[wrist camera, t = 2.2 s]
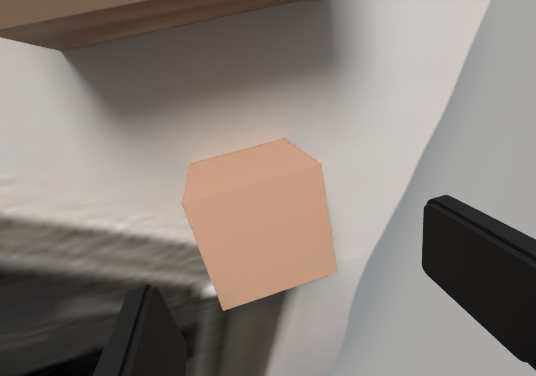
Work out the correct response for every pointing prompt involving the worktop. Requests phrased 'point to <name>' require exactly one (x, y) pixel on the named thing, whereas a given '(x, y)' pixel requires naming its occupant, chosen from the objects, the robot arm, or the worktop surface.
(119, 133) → the worktop surface
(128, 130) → the worktop surface
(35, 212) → the worktop surface
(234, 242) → the peach cube
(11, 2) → the walnut stand
